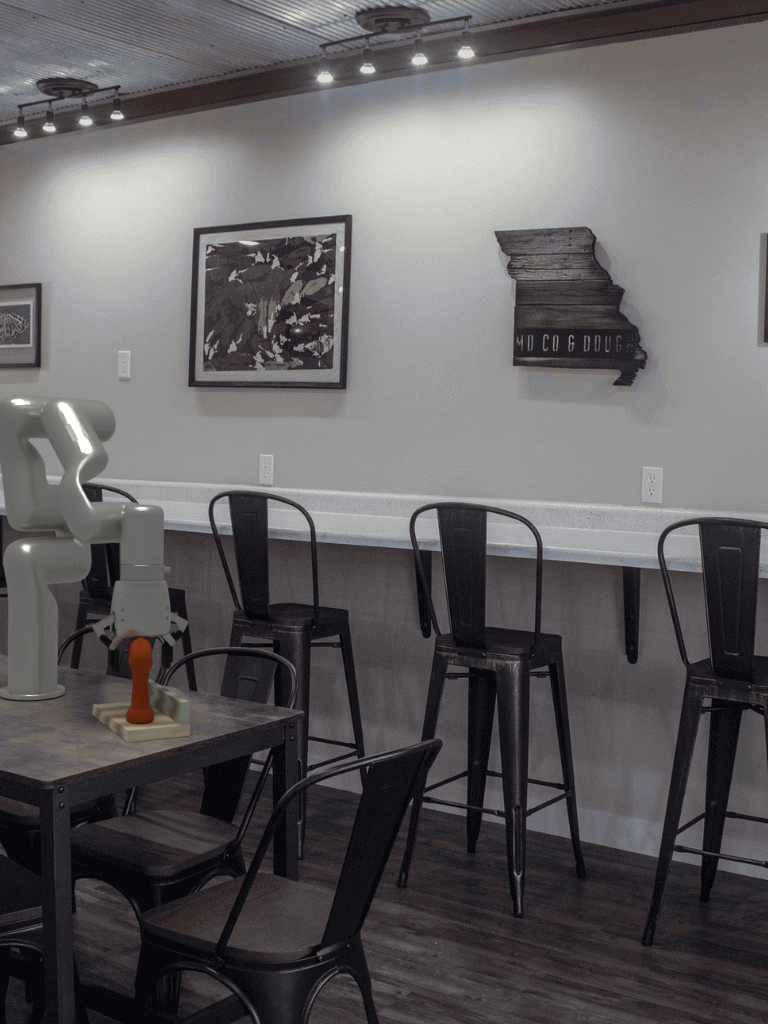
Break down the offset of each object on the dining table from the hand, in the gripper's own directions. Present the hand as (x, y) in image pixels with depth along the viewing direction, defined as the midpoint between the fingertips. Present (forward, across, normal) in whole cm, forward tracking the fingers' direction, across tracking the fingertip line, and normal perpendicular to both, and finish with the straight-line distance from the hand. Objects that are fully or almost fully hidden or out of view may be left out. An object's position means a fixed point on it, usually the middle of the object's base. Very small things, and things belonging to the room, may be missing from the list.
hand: (140, 668), depth 197 cm
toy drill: (+8, 0, 0) cm, 8 cm away
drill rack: (+10, 0, 0) cm, 10 cm away
